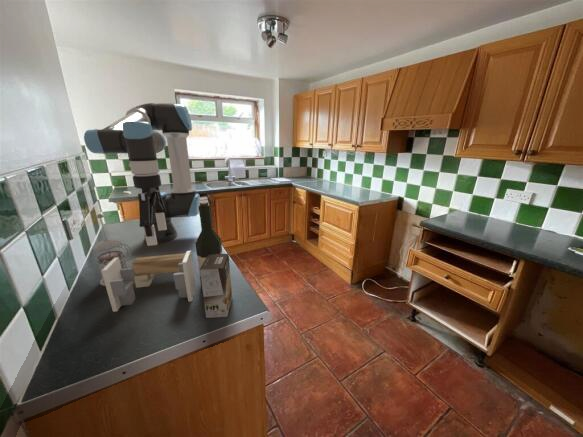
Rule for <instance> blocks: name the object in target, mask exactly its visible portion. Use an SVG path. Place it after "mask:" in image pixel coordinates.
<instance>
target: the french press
mask: <svg viewBox="0 0 583 437" xmlns="http://www.w3.org/2000/svg"><path fill="white" fill-rule="evenodd" d="M102 218H104V215H103V214H102V213H98V214H97V215H96V219H100V223H101V227H102V231H103V233H104V238H105V240H101V241H99V242H97V243H96V244H95V245H93V247H92V249H93V250H95V251H98V252H99V251H100V252H102V251H106V252H103V253H100V254H99V255H98V256H97V259H98V260H97V263H98V268H99V271H100V275H101V279H100V281H99V285H101V286H103V287H106V285H105V282H104V278H103V275H102V270H103V269H104V268H105V267H106V266H107V265H108V264H109V263H110V262H111V261H112V260H113V259H114V258H116V257H119V260H120V264H121V268H122V269H124V268H128V267H127V262H128V261H129V259H130V257H131V248H130V246H129V245H128V244H126V243H122V241H121V240H119V239H116V238H110V239H109V238H108V239H107V237H106V233H105V229H104V225H103V220H102ZM122 246H124V247H125V249H126V255H124V254H123V252H122V251H121V250H112V249H115V248H120V249H121V248H122ZM110 250H111V251H110ZM128 250H129V252H128ZM128 253H129V256H128ZM127 257H128V258H127Z"/></svg>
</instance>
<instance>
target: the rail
mask: <svg viewBox="0 0 583 437" xmlns="http://www.w3.org/2000/svg"><path fill="white" fill-rule="evenodd" d="M185 254H186V252H185V253H175V254H173V253H172V254H165V255H153V256H143V257H136V258H135V259H134V260H133V262H132V263H131V265H132V270H133V274H134V277H135V276H141V275H151V274H154V275H159V274H167V273H178V271H179V266H178V264H179V263H182V262H183V259H184V257H185Z"/></svg>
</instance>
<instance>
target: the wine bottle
mask: <svg viewBox="0 0 583 437" xmlns="http://www.w3.org/2000/svg"><path fill="white" fill-rule="evenodd" d="M198 214H199V219H200V227H201V229H200V230H201V231H200V233H199V235H198V237H197V239H196V241H195V243H194V244H195V252H196V258H197V259H196V260H197V265H198V273H199V280H200V287H201V288H202V281H201V273H200V268H201V266H202V264H203V263H204V261H205V259H206V258H207V256H208V255H214V254H224V253H223V245H222V238H221V237H220V235H218V233H217V232H216V231H215V230H214V229H213V222H212V213H211V205H210V203H209V202H208V201H200V205H199V213H198Z"/></svg>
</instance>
